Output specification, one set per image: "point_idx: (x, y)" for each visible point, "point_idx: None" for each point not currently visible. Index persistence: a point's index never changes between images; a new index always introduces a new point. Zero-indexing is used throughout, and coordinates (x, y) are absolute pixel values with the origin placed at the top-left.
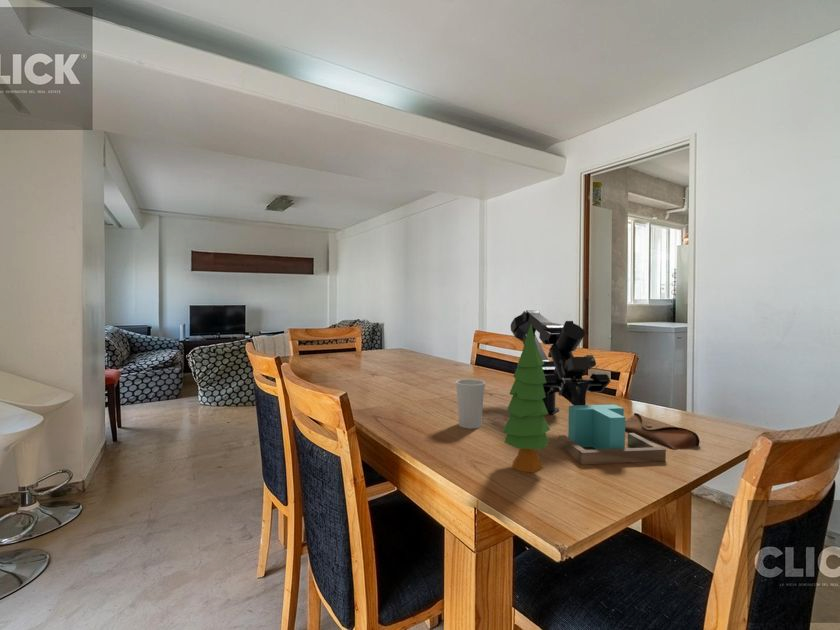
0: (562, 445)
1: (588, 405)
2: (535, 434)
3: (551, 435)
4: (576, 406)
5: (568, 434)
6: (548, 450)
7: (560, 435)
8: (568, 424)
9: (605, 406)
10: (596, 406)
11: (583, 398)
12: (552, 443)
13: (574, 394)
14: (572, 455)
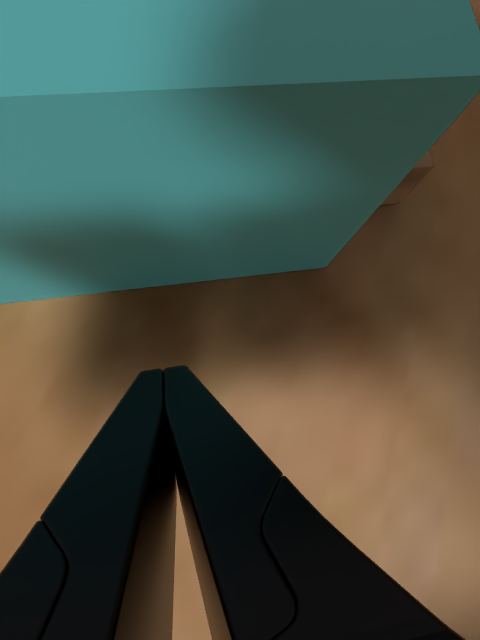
0: None
1: (196, 71)
2: None
3: (407, 391)
4: (398, 30)
5: (343, 243)
6: (465, 143)
7: (424, 164)
8: (375, 209)
9: None
10: (90, 15)
11: (96, 502)
12: (427, 242)
13: (325, 544)
14: None
